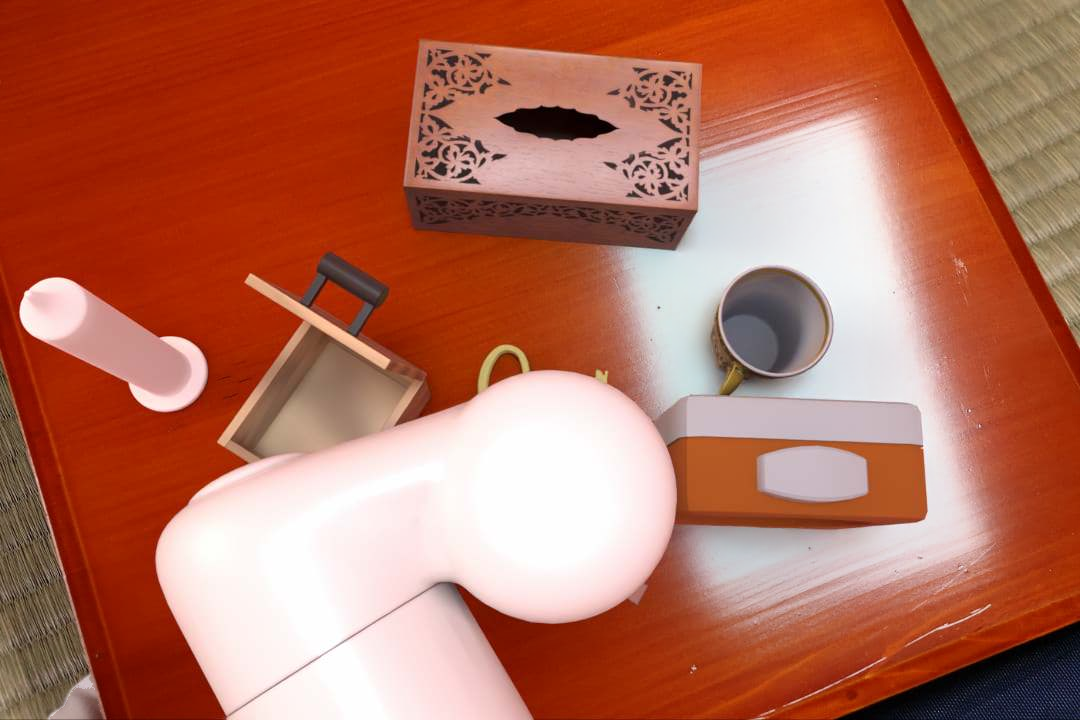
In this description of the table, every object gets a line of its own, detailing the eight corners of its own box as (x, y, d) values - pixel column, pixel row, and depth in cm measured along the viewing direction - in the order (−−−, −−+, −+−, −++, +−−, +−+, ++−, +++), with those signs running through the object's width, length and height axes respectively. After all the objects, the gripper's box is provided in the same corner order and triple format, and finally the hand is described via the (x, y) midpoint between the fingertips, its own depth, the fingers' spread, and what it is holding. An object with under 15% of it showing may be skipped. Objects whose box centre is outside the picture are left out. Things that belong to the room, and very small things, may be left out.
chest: (349, 521, 78) (333, 517, 70) (243, 453, 79) (216, 442, 71) (432, 395, 81) (425, 378, 73) (329, 331, 82) (312, 308, 74)
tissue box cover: (413, 229, 85) (403, 186, 75) (428, 96, 88) (419, 38, 78) (674, 250, 85) (697, 210, 76) (679, 118, 89) (701, 63, 79)
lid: (384, 370, 59) (423, 307, 59) (243, 282, 59) (282, 221, 60) (422, 381, 73) (453, 331, 73) (308, 311, 74) (339, 261, 74)
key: (612, 400, 82) (615, 396, 80) (484, 427, 80) (483, 423, 78) (595, 328, 83) (597, 322, 81) (469, 353, 82) (468, 348, 80)
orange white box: (640, 523, 79) (688, 511, 59) (640, 428, 81) (687, 386, 61) (838, 530, 80) (952, 520, 60) (834, 436, 82) (943, 396, 62)
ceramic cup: (728, 279, 85) (758, 242, 75) (813, 336, 84) (855, 307, 74) (655, 383, 82) (676, 360, 72) (743, 444, 81) (776, 429, 72)
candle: (130, 341, 81) (-28, 246, 56) (207, 334, 81) (83, 237, 57) (130, 416, 79) (-32, 351, 55) (209, 408, 80) (83, 341, 55)
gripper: (315, 481, 36) (375, 507, 54) (667, 706, 35) (609, 657, 52) (415, 333, 38) (441, 406, 55) (755, 543, 36) (670, 549, 54)
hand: (523, 528), depth 54 cm, fingers closed on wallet, 4 cm apart
